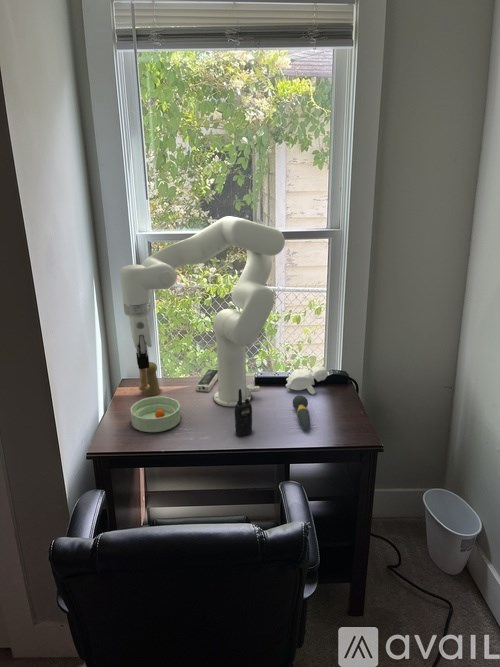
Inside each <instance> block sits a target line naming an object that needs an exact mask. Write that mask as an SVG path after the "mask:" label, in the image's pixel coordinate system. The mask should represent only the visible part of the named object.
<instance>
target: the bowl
mask: <svg viewBox="0 0 500 667" xmlns="http://www.w3.org/2000/svg"><path fill="white" fill-rule="evenodd" d="M129 410H130V418H131V419H130V422H131V426H132V427H133V428H134V429H135V430H138V431H140V432H144V433H145V432H146V433H159V432H164V431H167V430H171V429H173V428H174V427H176V426H177V425H178V424H179V423H180V422H181V419H182V415H181V413H182V412H181V404H180V402H179V400H177V399H175V398H172V397H169V396H149V397H146V398H143V399H140V400H138V401H136V402H134V403H133V405H131V407H130V408H129ZM157 410H163V411H164V413H165V416H164V417H160V418H156V416H155V413H156V411H157Z"/></svg>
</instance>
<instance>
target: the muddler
mask: <svg viewBox="0 0 500 667" xmlns="http://www.w3.org/2000/svg"><path fill="white" fill-rule="evenodd" d="M140 350H141V349H139V351H140ZM138 370H139V385H138V390H139V391H141V392H143V391H146V390H149V384H148V382H147V368H144V369H139V368H138Z"/></svg>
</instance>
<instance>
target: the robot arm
mask: <svg viewBox="0 0 500 667" xmlns="http://www.w3.org/2000/svg"><path fill="white" fill-rule="evenodd" d="M285 245H286V239H285V235H284V234H283V232H282V231H281V230H279V229H278V228H276V227H272V226H268V225H265V224H261V223H258V222H255V221H252V220H250V219H245V218H243V217H236V216H231V215H229V216H223V217H221V218H220V219H217V220H216V221H215V222H212V223H211V224H209V226H207V227H205V228H203V229H202V230H200V231H199V232H197V233H195V234H194V235H192V236H190V237H188V238H185V239H183V240H180V241H178V242H174V243H172V244H170V245H167V246H165V247H163V248H161V249H159V250H157V251H156V252H154V253H153V254H151V255H150V256H148V257H147V258H146V259H144V260H143V261H142V263H141V264H128V265H127V264H126V265H124V266H123V267H121V268H120V270H119V276H120V284H121V285H120V286H121V293H122V303H123V312H124V315H125V316H126V317H128V318H129V319H128V320H129V326H130V333H131V338H132V341H133V345H134V347H135V349H136V352H135V354H136V364H137V368H138V370H139V369H144V368H149V362H150V359H149V354H148V347H149V348H152V346H153V344H152V336H151V326H150V319H149V314H151V313H152V309H151V298H150V291H151V290H166V289H167V290H168V289H170V288H171V287H173V286H174V285H175V283H176V282H177V279H178V275H177V271H176V270H175V269H178V268H180V267H183V266H189V265H198V264H203V263H206V262H208V261H209V260H211V259H212V258H214V257H216V256H217V255H219V254H220V253H222V252H224V250H226V249H228V248H230V247H231V246H233V247H237V248H241V249H243V250H245V251H246V262H245V265H244V268H243V271H242V272H241V274H240V276H239V278H238V280H237V282H236V284H235V286H234V288H233V290H232V292H231V302H232V303H233V304H234V305H235V306H236V307H238V308H239V309H242V310H241V311H238V310H235V309H233V308H224V309H221V310H220V311H219V312H217V313H216V315H215V317H214V318H213V332H214V337H215V342H216V343H215V344H216V354H217V355H216V359H217V361H216V362H217V370H218V379H217V389H218V391H216V392H215V393H214V395H213V399H214V402H215V403H217V404H218V405H220V406H223V407H235V405H237V402H238V401H239V389H241V392H242V402H245V399H249V402H250V401H251V399H252V395H251V394H252V393H259V392H261V388H260V386H259V385H256V386H255V384H254V383H253V384H247V358H246V356H247V355H246V354H247V350H246V347H249V346H252V345H253V344H254V343H255V342H256V340H258V337H259V336H260V334H261V332H262V330H263V329H264V326H265V325H266V322H267V321H268V318H269V317H270V316H271V313H272V311H273V308H274V304H275V298H274V294H273V292H272V290H271V289H270V288H269V287H267V286H266V284H267V282H268V280H269V278H270V276H271V273H272V268H273V261H272V260H273V259H272V257H274V256H277V255H278V254H280V253H281V252H282V251H283V250H284V248H285ZM139 349H141V350H140V351H139Z"/></svg>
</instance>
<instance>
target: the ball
mask: <svg viewBox="0 0 500 667" xmlns="http://www.w3.org/2000/svg"><path fill="white" fill-rule="evenodd" d="M155 416H156V418H160V417H164V416H165V413H164V411H163V410H157V411H156V413H155Z"/></svg>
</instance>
